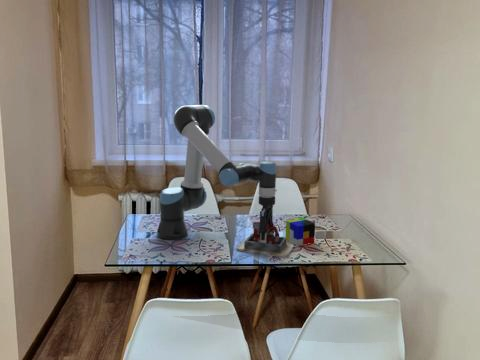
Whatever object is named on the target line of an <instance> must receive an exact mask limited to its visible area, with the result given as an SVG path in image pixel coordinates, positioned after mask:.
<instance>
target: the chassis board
mask: <svg viewBox="0 0 480 360" xmlns="http://www.w3.org/2000/svg"><path fill="white" fill-rule="evenodd" d="M253 233H254V232H252V233H250V235H249V236H248V237H247V238H244V240H242V242H241V243H240V244H239V245H238V246H237V247H236V250H235V251H239V252H246V253H252V254H253V253H254V254H260V255H266V256H267V255H268V256H272V257H273V256H275V257H282V258H288V257H289V256H290V254H291V253H292V251H293V249H294V248H295V245H294V244H292V243H287V242H288V241H287V238H286V236H285V237H284V236H279V241H278V242H275V244H267V243H259V242H255V241H254V240H253ZM293 247H294V248H293ZM290 252H291V253H290Z"/></svg>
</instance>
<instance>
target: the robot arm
mask: <svg viewBox="0 0 480 360" xmlns="http://www.w3.org/2000/svg"><path fill="white" fill-rule="evenodd" d="M215 122H216V114H215V112H214V111H213V109H212V108H211V107H210V106H209V105H207V104H206V105H205V104H193V105H182V106H180V107H178V109H177V110H175V113H174V115H173V124H174V127H175V129H176V130H177V132H178V133H179V134H180V135H181V136H182V137H183V138H186V139H187V148H186V156H185V164H184V165H185V169H184V177H183V178H184V179H183V180H182V181H181V182H180V187H179V186H173V187H167V188H164V189H163V190H161V192H160V194H159V213H160V215H159V217H160V221H159V224H158V227H157V231H156V235H157V236H156V237H158V238H159V239H162V240H169V241H171V240H172V241H173V240H180V239H184V238H186V237H187V236H188V234H189V233H188V228H187V224H186V222H185V212H187V211H191V210H195V209H199V208H200V207H202V206H203V205H204V204H205V203H206V201H207V197H208V196H207V191H206V189H205V187H204V183H202V172H203V164H204V163H203V162H204V159H205V160H206V161H207V162H208V163H209V164H210V166H212V167H213V168H214V169H215V170H216V172H217V173H218V174H219V175H218V179H219V181H220V183H221V185H223V186H226V187H231V186H235V185H237V184H240V183H241V184H242V183H246V182H249V181H253V182H256V183H257V182H258V195H259V196H258V204H259V205H260V206H262V208H261V210H260V211H259V222H260V226H259V233H260V243H266V238H267V235H269V234H268V231H269V230H270V229H269V230H268V231H267V233H266V228H267V223H268V224H270V223H273V220H274V219H273V218H274V217H273V214H274V213H273V212H274V211H273V210H274V209H273V207H274V206H275V204H276V192H277V191H278V189H276V188H277V187H276V185H277V184H276V183H277V182H276V181H277V164H276V162H273V161H267V160H265V161H260V163H259V164H253V163H248V162H240V163H238V165H237V166H236V165H235V164H234V163H233V162H232V161H231V160H230V159H229V158H228V157H227V155H226V154H224V152H223V151H222V150H221V149H220V148H219V147H218V146H217V144H215V142H213V140H212V139H211V138H210V137H209V136H208V135H209V134H210V129H211V128H212V127H213V126H214V125H215ZM273 224H274V223H273ZM262 230H263V231H262Z"/></svg>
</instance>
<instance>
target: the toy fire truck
mask: <svg viewBox="0 0 480 360" xmlns="http://www.w3.org/2000/svg"><path fill="white" fill-rule="evenodd" d="M274 225H275V224H274V223H270V224H268V223H267V228H266V233H267V231H268V230H269V229H270V230H269V231H268V234H269V235H267V238H266V243H267V244H275V242H278V241H279V237H280V233H279V231H278V229H277V226H274ZM259 226H260V221H253V223H252V228H253V232H252V233H253V240H254V241H255V242H259V243H260V233H259ZM262 231H263V230H262Z"/></svg>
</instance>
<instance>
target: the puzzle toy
mask: <svg viewBox="0 0 480 360" xmlns="http://www.w3.org/2000/svg"><path fill="white" fill-rule="evenodd" d="M315 230H316V223H315V222H312V221H310V220H309V219H306V218H304V217H300V218H294V219H288V220H287V219H286V221H285V237H286V238H287V242H288V243H290V242H291V243H290V244H292V243H293V244H292V245H294V244H295V245H294V246H296V247H300V246H299V245H301V246H304V245H303V244H307V245H309V244H308V243H312V244H315V237H316V236H315Z"/></svg>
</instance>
